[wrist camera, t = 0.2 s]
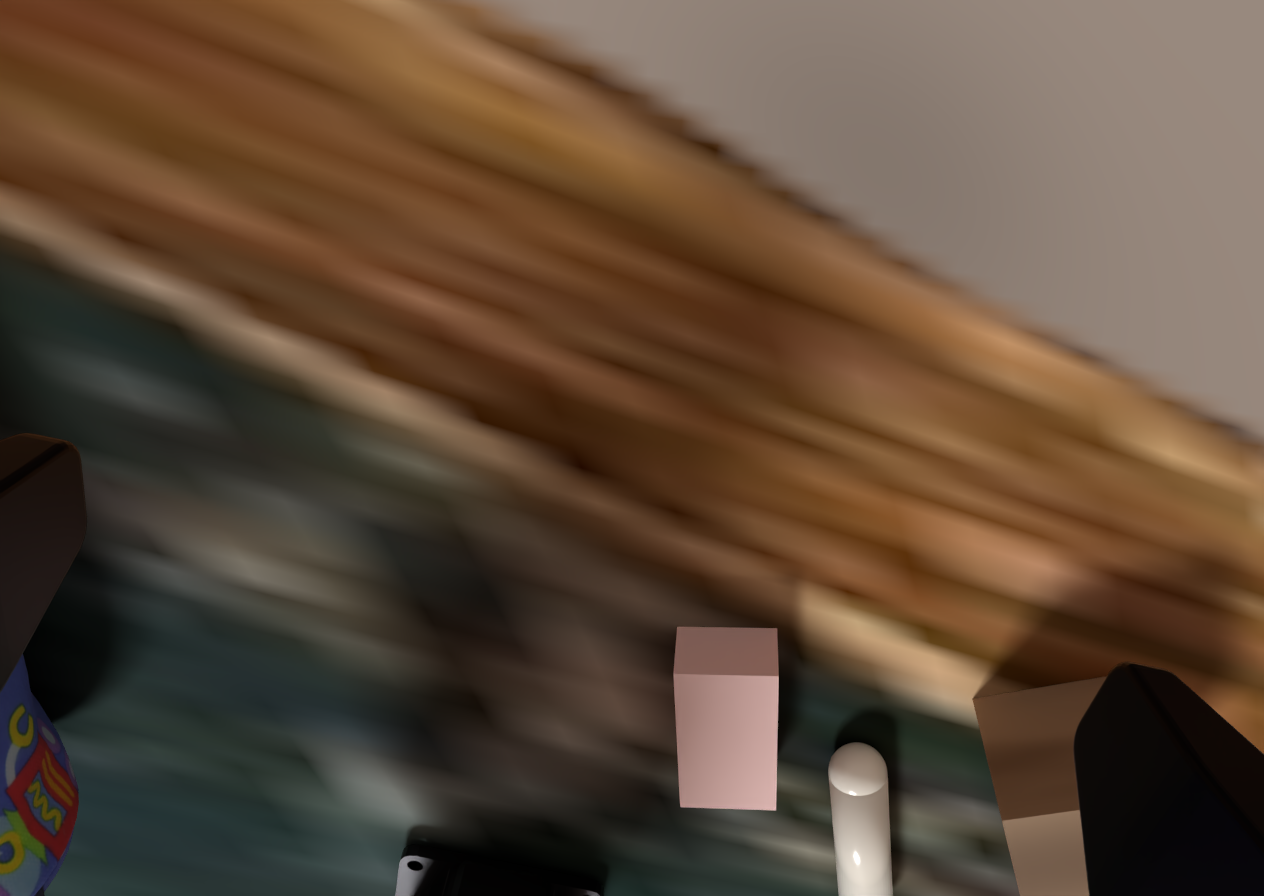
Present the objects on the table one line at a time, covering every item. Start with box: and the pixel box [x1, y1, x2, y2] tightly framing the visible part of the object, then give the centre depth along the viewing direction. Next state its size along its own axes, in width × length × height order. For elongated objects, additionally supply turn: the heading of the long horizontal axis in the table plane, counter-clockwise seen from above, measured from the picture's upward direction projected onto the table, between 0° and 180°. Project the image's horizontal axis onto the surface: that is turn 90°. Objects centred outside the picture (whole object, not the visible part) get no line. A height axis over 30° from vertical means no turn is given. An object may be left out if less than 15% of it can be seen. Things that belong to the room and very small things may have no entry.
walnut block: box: [973, 676, 1107, 896], centre depth 28 cm, size 4×4×4 cm
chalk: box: [828, 742, 893, 896], centre depth 31 cm, size 8×2×2 cm, turn 9°
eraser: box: [673, 627, 779, 810], centre depth 29 cm, size 5×3×2 cm, turn 4°
